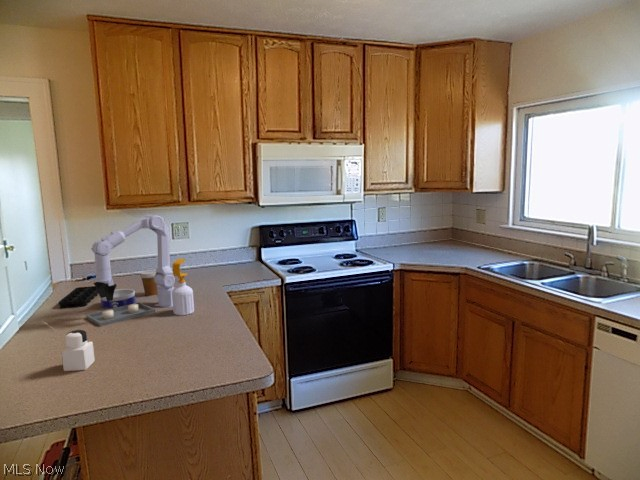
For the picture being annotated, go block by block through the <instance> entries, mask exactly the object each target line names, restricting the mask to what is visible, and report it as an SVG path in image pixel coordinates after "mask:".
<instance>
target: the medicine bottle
mask: <svg viewBox="0 0 640 480" xmlns="http://www.w3.org/2000/svg"><path fill="white" fill-rule="evenodd" d="M64 336H65V345H66V346H65V348H63V349H62V350H61V361H62V367H63V371H64V372H71V371H72V372H73V371H77V372H78V371H86V370H87V369H88V368H89V367H90V366H91V365H92V364H93V363H94V362H95V359H96V358H95V349H94V343H93V341H88V335H87V331H85V330H83V329H75V330H72V331H69V332H67V333H66V334H65V335H64Z"/></svg>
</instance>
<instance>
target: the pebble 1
mask: <svg viewBox="0 0 640 480" xmlns="http://www.w3.org/2000/svg"><path fill="white" fill-rule="evenodd" d="M102 311H103V312H102V314H103V320H110V319H113V318H114V312H113V310H109V309H106V310H105V311H104V310H102Z"/></svg>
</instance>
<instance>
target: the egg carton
mask: <svg viewBox="0 0 640 480" xmlns="http://www.w3.org/2000/svg"><path fill="white" fill-rule="evenodd" d="M98 295H99V293H98V290H97V288H96V286H95V285H94V286H93V285H92V286H79V287H75V288H74V289H73V290H72V291H70V292H69V293H68V294H67V295H65V296H64V297H63V298H62V299H60V300H59V301H58V304H57V305H59V307H60V309H68V308H69V309H70V308H72V307H74V308H84V307H86V306H88V304H89V303H90V302H91V301H92V300H94V299H95V297H97V296H98Z"/></svg>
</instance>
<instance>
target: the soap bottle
mask: <svg viewBox="0 0 640 480" xmlns="http://www.w3.org/2000/svg"><path fill="white" fill-rule="evenodd" d="M185 262H186V259H184V258H178V259H176V260H175V261H174V262H172V265H171V269H172V271H173V276H174V277H177V278H178V281H177V286H176V287H174V288H175V289H174V290H173V291H172V301H173V306H172V312H173V314H174V315H177V316H188V315H190V314H193V313H194V312H195V302H194V290H193V288H192V287H190V286H189V285H187V283H186V280H185V279H184V278H185V277H186V276H188V273H183V272H181V265H182V264H183V263H185Z"/></svg>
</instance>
